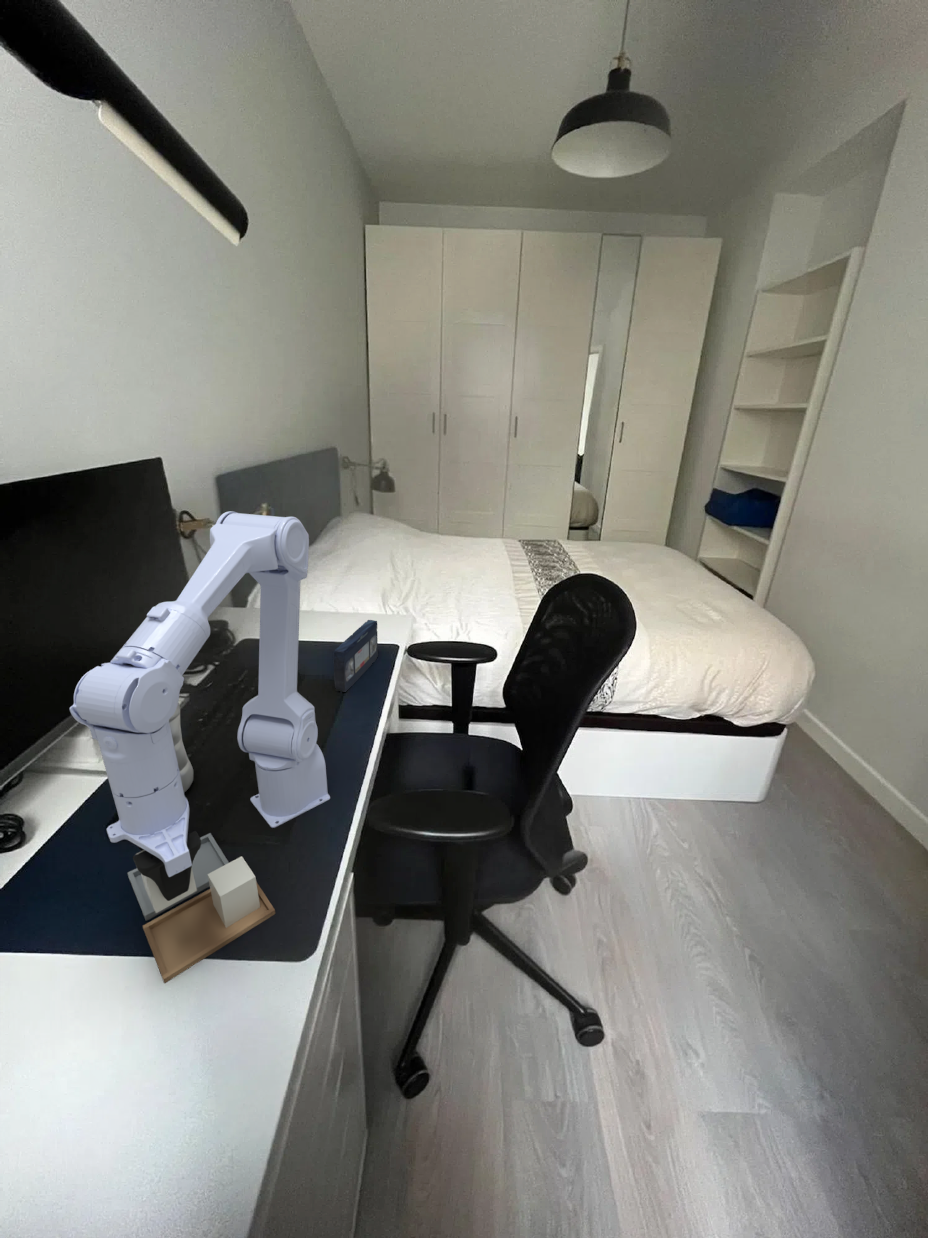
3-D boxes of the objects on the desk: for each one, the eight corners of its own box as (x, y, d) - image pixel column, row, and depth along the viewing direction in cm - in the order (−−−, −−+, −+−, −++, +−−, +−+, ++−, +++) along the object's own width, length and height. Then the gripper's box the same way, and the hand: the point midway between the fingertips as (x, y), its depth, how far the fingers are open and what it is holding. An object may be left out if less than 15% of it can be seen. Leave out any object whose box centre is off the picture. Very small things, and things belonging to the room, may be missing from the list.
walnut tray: (248, 874, 66) (247, 868, 66) (275, 916, 61) (274, 910, 61) (144, 932, 58) (142, 926, 58) (165, 986, 53) (163, 979, 53)
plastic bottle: (203, 776, 83) (182, 667, 76) (183, 806, 77) (159, 690, 69) (162, 776, 83) (138, 666, 75) (139, 806, 77) (110, 689, 69)
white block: (184, 868, 58) (176, 834, 56) (197, 890, 55) (189, 856, 53) (145, 888, 55) (135, 854, 53) (155, 913, 53) (146, 878, 51)
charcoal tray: (211, 839, 71) (210, 832, 71) (233, 875, 66) (232, 868, 66) (129, 879, 65) (127, 872, 64) (146, 923, 59) (144, 916, 59)
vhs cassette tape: (345, 694, 109) (343, 652, 105) (332, 692, 110) (330, 650, 106) (380, 658, 126) (379, 620, 122) (369, 656, 126) (367, 619, 123)
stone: (246, 886, 64) (241, 856, 62) (260, 907, 62) (255, 876, 60) (213, 905, 62) (207, 874, 60) (226, 928, 59) (220, 896, 57)
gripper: (81, 759, 52) (111, 858, 57) (115, 842, 42) (147, 953, 47) (158, 732, 57) (179, 827, 62) (205, 803, 47) (225, 907, 52)
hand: (170, 879), depth 55 cm, fingers closed on white block, 4 cm apart
